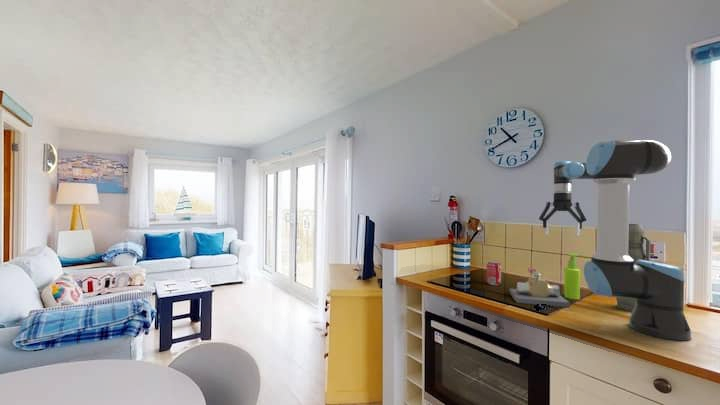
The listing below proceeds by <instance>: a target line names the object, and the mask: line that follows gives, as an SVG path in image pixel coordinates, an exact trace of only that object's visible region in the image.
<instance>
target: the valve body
mask: <svg viewBox="0 0 720 405" xmlns="http://www.w3.org/2000/svg"><path fill="white" fill-rule="evenodd" d="M516 289H517V293H518V294H527V295H529V296H534V297H546V298H547V297H550V296H553V297H559V295H561V293H560V287H559V285H558V284H549V282H548V281H547V280H546V279H545V278H543V277H528V281H527V280H526V282H521V281H519V282H516Z"/></svg>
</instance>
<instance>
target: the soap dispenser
mask: <svg viewBox="0 0 720 405" xmlns="http://www.w3.org/2000/svg"><path fill="white" fill-rule="evenodd" d="M567 255H568V256H569V260H567V267H564V277H563V278H564V279H563V280H564V282H563V283H564V284H563V286H564V287H563V289H564V291H563V292H564V293H563V294H564V295H563V296H564V297H563V298H565V299H566V298H567V299H571V300H580V298H581V294H580V293H581V292H580V290H581V269H579V268H578V265H577V264H578V262H577V261H576V259H575V257H576V256H577V257H583V255H582V254H579V253H568V254H567Z"/></svg>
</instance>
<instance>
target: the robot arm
mask: <svg viewBox="0 0 720 405" xmlns="http://www.w3.org/2000/svg"><path fill="white" fill-rule="evenodd" d="M671 160H672V153H671V151H670V149H669V148H668V147H667V146H666V145H664V144H663V143H661V142H659V141H656V140H652V139H651V140H649V139H643V140H607V141H599V142H597V143H595V144H593V146H592V147H591V148H590V150H589V152H588V154H587V157H586V160H585V162H578V161H570V160H562V161H561V160H560V161H559V160H558V161H556V162H554V164H553V192H554V193H553V202H550V201H547V202H545V203H546V204H545V207H544V208H543V211H542V212H541V214H540V216H539V218H538V220H539V221H542V228H543V229H544V234H545V235H546V236H549V221H548V220H549V219H550V218H552V216H553V215H554V214H555V213H556V212H568V213H569V214H570V215H571V216H572V217H573V219H575V220H576V221H575V236H577V237H579V236H580V234H581V233H580V230H581V229H582V228H583V227H582V226H583V223H584V222H587V218H586V216H585V214H584V213H583V211H582V209H581V207H580V202H578V201H576V202H575V201H574V202H572V193H571V192H572V191H573V190H572V189H573V188H572V180H592V181H593V182H594V183H595V184H597V221H596V222H597V223H596V224H597V225H596V226H597V228H596V230H597V234H596V251H595V252H594V253H593V254H592V255H591V256H590V258H591V259H590V260H589V261H586V262H585V263H584V266H583V275H584V279H585V280H584V281H585V282H586V285H587V287H588V289H589V290H590V291H591V292H592V293H593V294H594V295H597V296H601V297H608V298H616V297H622V298H635V299H636V305H635V308H634V310H633V312H632V313H631V315H630V316H629V319H628V325H629V327H630V328H631V329H633V330H635V331H637V332H640V333H642V334H645V335H649V336H652V337H656V338H659V339H660V338H661V339H665V340H666V339H667V340H673V341H688V340H691V339H692V330H691V328H690V325H689V324H688V320H687V319H686V316H685V313H684V312H685V311H684V303H685V302H684V301H685V299H684V296H685V294H684V291H685V289H684V288H685V277H684V276H685V275H684V271H683V269H682V268H680V267H678V266H676V265H671V264H667V263H663V262H662V263H661V262H657V261H653V260H652V261H651V260H650V261H646V260H637V261H636V264H634V260H633V259H632V258H631V257H630V256H629V255H628V239H629V224H630V189H631V188H630V186H631V184H632V183H633V182H635V181H636V180H637V176H636V175H651V174H656V173H659V172H661V171H663V170H664V169H666V168H667V167H668V166H669V164H670V162H671ZM550 207H553V208H552V209H551V211H550V212H549V213H548V214H547V212H548V211H549V210H550ZM571 207H574V209H575V211H576V212H577V213H576V212H575V211H574V210H573V208H571ZM546 214H547V215H546Z"/></svg>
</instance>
